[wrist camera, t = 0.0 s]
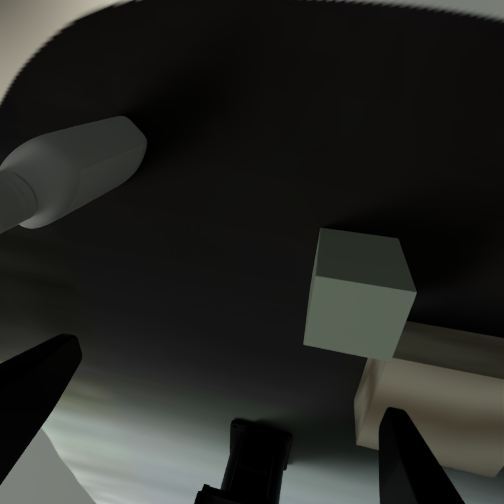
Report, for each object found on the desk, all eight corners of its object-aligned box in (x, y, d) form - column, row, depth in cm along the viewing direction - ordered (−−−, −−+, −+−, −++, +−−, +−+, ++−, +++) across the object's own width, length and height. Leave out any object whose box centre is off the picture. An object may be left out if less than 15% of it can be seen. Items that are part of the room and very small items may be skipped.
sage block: (379, 298, 24) (390, 361, 19) (310, 287, 25) (303, 344, 20) (398, 238, 21) (416, 292, 16) (320, 227, 22) (315, 275, 17)
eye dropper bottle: (163, 176, 23) (25, 266, 13) (99, 190, 25) (-69, 278, 14) (139, 110, 21) (-47, 153, 11) (71, 130, 23) (-145, 183, 13)
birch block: (474, 427, 28) (493, 478, 25) (353, 401, 30) (356, 444, 26) (530, 343, 23) (564, 391, 20) (381, 316, 25) (388, 357, 21)
